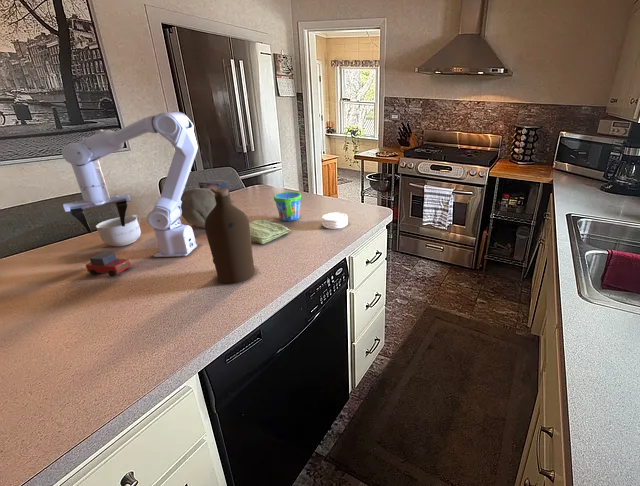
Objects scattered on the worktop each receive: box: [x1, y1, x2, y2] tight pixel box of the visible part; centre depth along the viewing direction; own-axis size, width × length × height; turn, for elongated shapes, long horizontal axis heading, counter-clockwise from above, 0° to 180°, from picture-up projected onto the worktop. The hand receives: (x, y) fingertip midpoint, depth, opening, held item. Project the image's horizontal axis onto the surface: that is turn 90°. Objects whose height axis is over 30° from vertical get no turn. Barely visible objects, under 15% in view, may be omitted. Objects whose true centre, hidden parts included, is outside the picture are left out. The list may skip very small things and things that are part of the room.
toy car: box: [85, 251, 132, 277], centre depth 92 cm, size 9×5×5 cm, turn 84°
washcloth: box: [249, 219, 290, 245], centre depth 118 cm, size 13×18×3 cm
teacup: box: [95, 214, 142, 247], centre depth 111 cm, size 14×11×8 cm
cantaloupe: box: [181, 187, 216, 229], centre depth 123 cm, size 14×14×15 cm
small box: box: [198, 178, 232, 203], centre depth 151 cm, size 11×6×10 cm, turn 81°
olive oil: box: [204, 188, 255, 284], centre depth 88 cm, size 11×11×25 cm
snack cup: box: [273, 191, 302, 222], centre depth 133 cm, size 16×10×10 cm
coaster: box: [321, 212, 349, 230], centre depth 129 cm, size 10×10×4 cm
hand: (107, 228), depth 98 cm, fingers open, 7 cm apart
